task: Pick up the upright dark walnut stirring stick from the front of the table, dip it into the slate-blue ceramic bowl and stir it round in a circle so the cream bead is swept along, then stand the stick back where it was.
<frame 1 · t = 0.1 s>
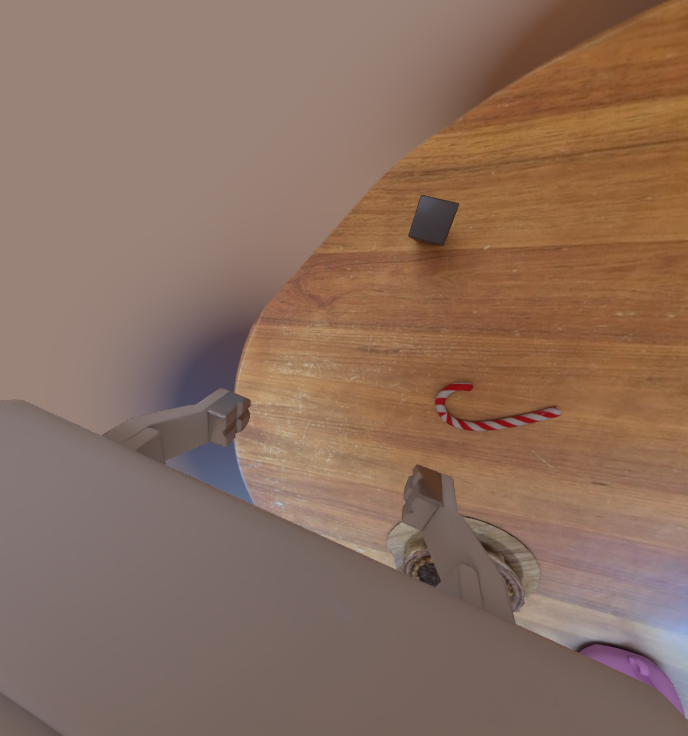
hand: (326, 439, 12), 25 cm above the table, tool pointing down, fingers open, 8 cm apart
pie: (457, 560, 51), on the table
stick: (429, 231, 28), on the table
candy cane: (492, 403, 35), on the table
teapot: (609, 658, 51), on the table
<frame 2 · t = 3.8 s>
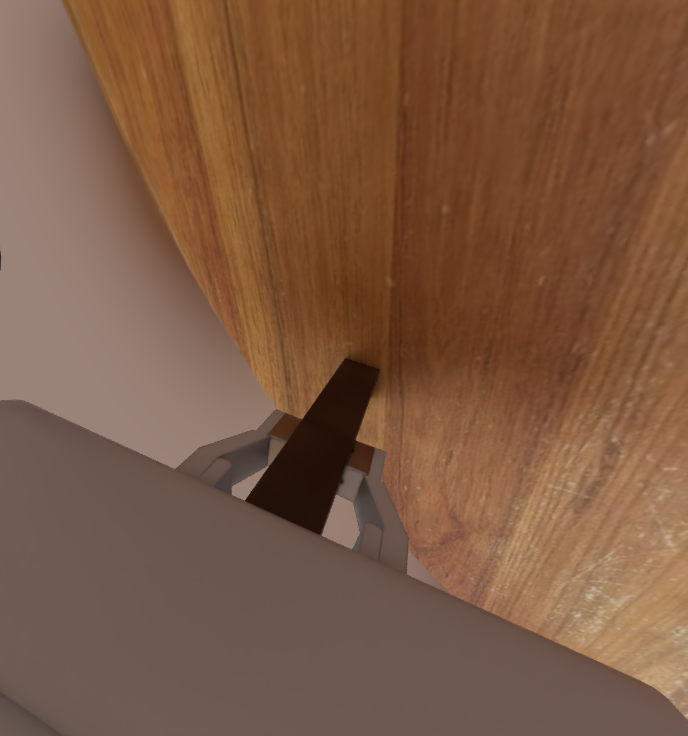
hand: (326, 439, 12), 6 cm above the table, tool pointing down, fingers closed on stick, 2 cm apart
stick: (358, 378, 17), on the table, touching gripper
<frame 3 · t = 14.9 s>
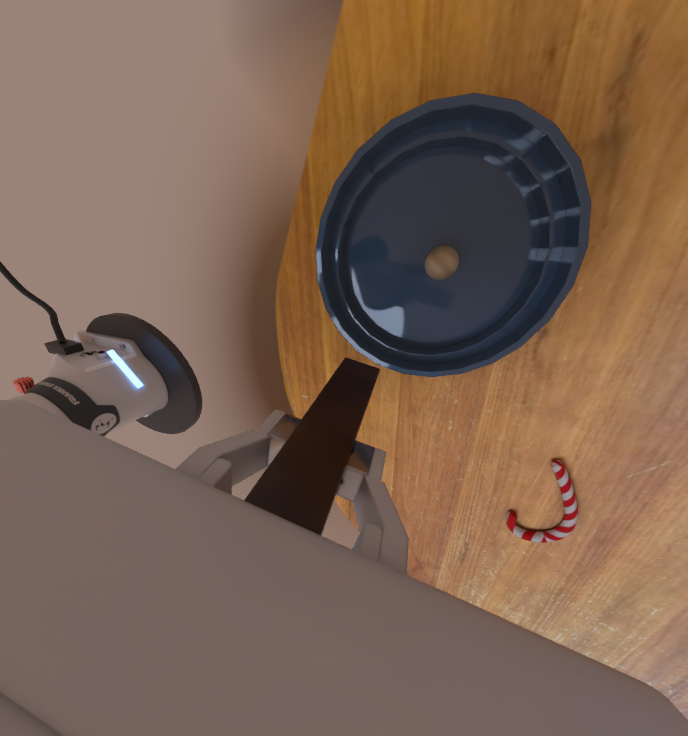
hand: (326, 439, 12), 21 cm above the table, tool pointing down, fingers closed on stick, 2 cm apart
stick: (358, 378, 17), point 15 cm above the table, touching gripper
bowl: (430, 262, 26), on the table
candy cane: (540, 498, 34), on the table
bead: (441, 262, 23), point 2 cm above the table, tilted 104°, touching bowl
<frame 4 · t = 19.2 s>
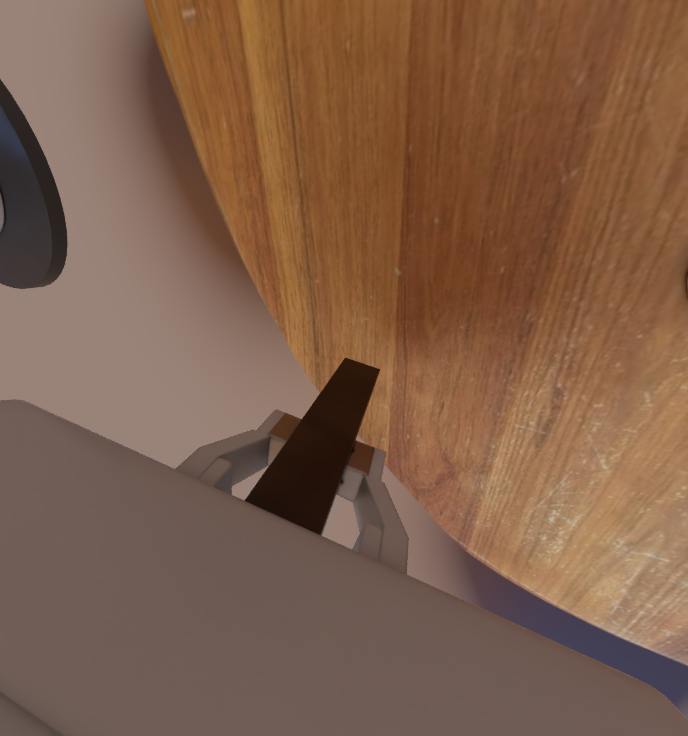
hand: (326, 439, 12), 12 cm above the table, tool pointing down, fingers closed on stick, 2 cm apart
stick: (358, 378, 17), point 6 cm above the table, touching gripper
when the fingers open (6 cm above the table, at t = 20.8 s): stick stays where it is, on the table.
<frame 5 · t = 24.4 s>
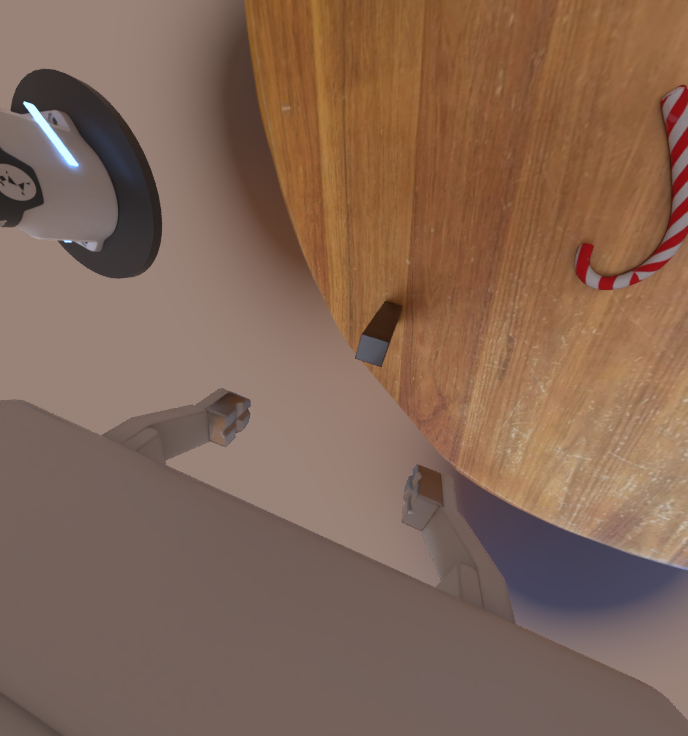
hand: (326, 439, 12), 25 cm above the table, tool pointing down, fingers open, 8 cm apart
stick: (390, 312, 33), on the table
candy cane: (631, 203, 23), on the table
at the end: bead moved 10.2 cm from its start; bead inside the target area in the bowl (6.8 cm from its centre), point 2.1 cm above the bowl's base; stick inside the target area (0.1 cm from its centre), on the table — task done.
